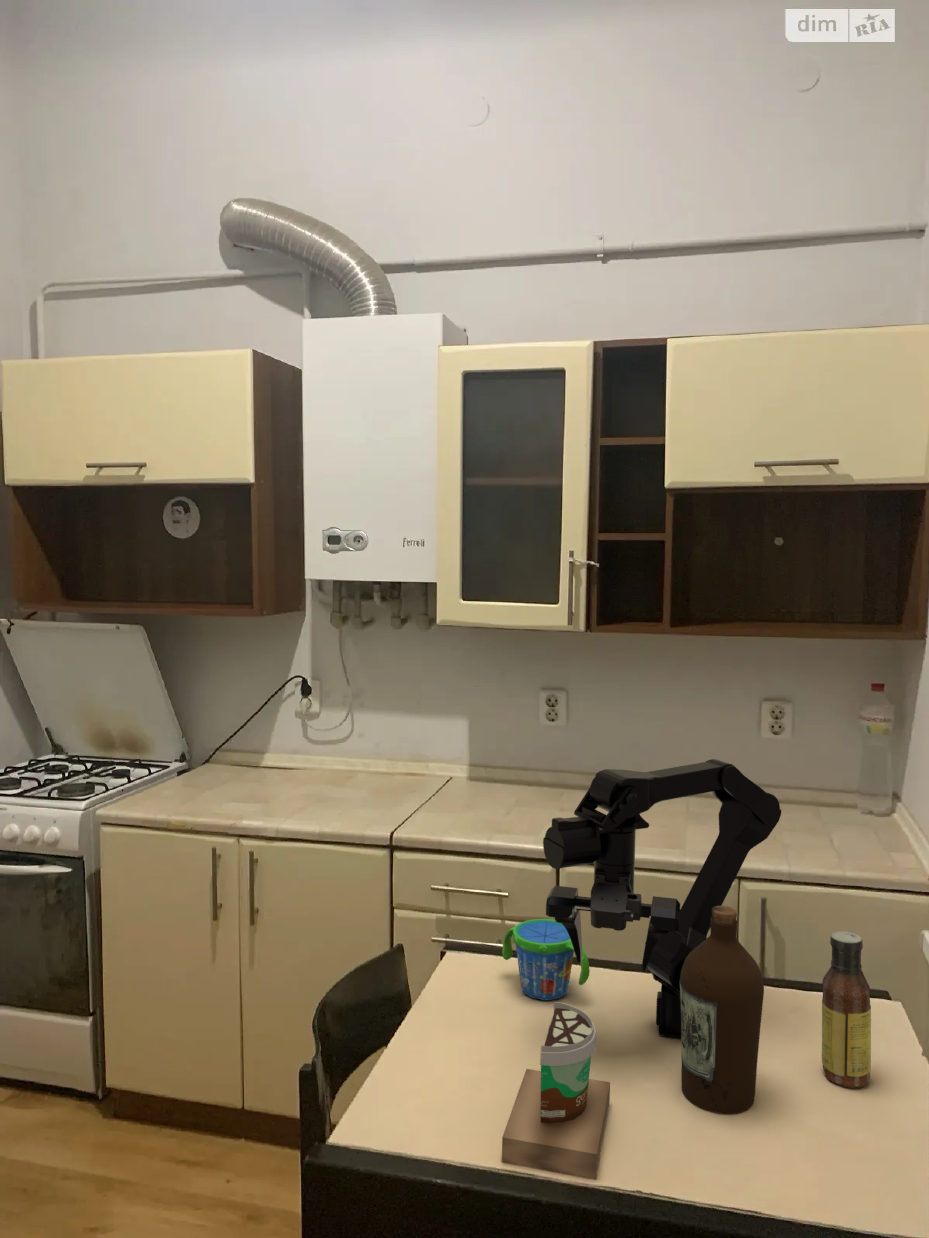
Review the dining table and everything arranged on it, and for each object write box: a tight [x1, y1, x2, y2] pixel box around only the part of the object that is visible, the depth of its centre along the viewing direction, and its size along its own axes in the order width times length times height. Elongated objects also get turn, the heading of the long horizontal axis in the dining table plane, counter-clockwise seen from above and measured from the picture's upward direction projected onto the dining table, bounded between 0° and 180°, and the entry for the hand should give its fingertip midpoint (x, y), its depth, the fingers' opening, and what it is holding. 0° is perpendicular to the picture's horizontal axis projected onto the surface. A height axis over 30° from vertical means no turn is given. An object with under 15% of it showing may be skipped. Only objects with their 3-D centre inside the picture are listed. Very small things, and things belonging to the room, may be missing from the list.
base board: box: [501, 1068, 611, 1180], centre depth 113 cm, size 11×15×3 cm
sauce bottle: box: [821, 930, 872, 1089], centre depth 125 cm, size 6×6×20 cm
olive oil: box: [680, 905, 765, 1115], centre depth 121 cm, size 11×11×25 cm
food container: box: [539, 1001, 599, 1123], centre depth 113 cm, size 12×6×10 cm, turn 166°
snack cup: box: [501, 918, 590, 1002], centre depth 149 cm, size 16×10×10 cm
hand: (611, 965), depth 132 cm, fingers open, 9 cm apart
